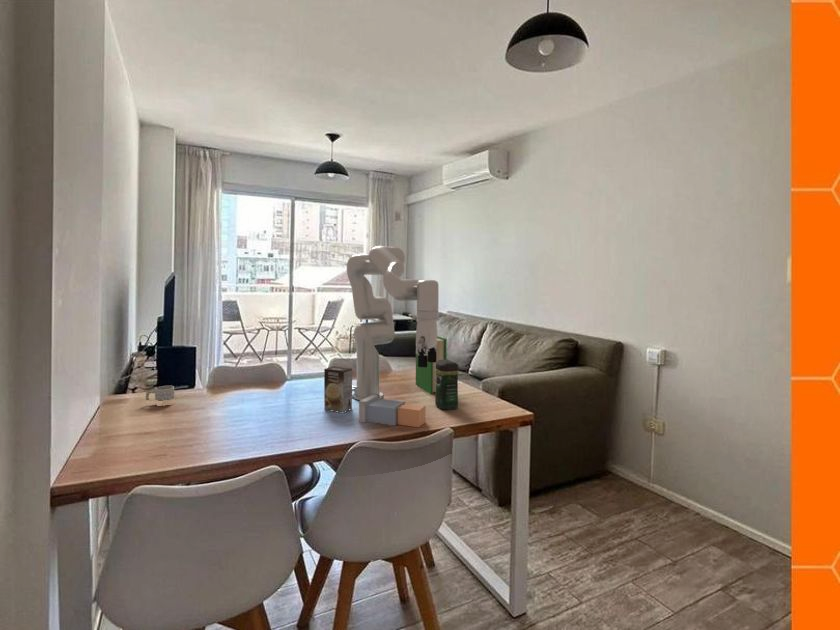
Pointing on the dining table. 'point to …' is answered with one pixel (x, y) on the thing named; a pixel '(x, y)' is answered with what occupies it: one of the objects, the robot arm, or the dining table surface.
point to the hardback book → (430, 368)
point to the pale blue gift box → (379, 410)
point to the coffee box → (338, 388)
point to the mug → (162, 393)
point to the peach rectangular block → (411, 415)
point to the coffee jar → (446, 384)
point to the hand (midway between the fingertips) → (427, 364)
